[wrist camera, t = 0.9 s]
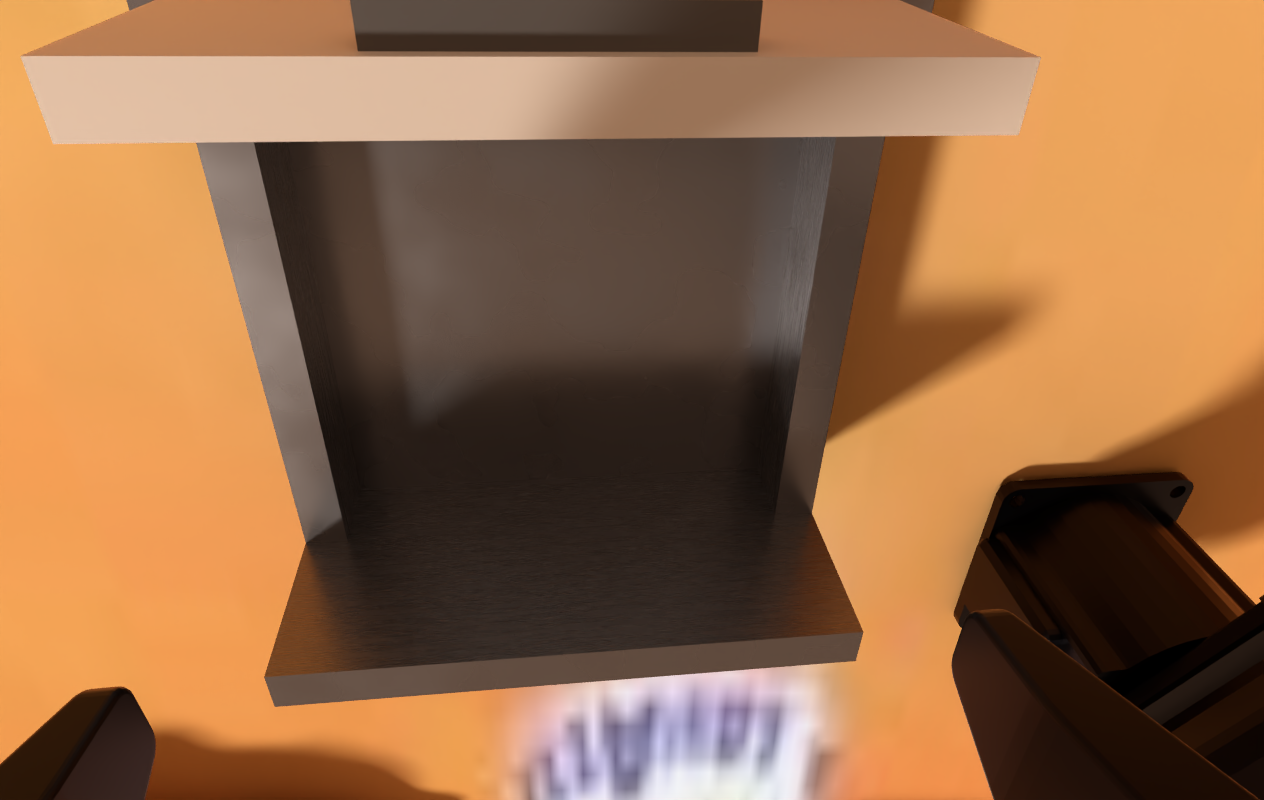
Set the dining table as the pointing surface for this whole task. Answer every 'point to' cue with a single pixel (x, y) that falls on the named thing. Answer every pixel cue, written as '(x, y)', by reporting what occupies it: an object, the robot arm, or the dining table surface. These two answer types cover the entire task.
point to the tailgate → (525, 72)
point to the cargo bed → (549, 401)
